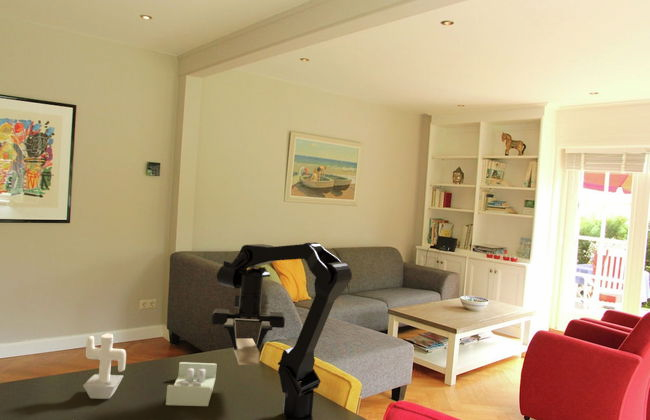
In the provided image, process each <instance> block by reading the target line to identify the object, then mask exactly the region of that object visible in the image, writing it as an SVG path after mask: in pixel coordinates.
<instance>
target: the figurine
mask: <svg viewBox="0 0 650 420" xmlns="http://www.w3.org/2000/svg"><path fill="white" fill-rule="evenodd" d="M113 344H114V334H113V333H112V332H109V333H108V332H106V333H104V334H102V335H101V336H100V347H96V346H95V336H94V335H90V336H89V335H88V336H87V338H86V345H85V357H86V358H87V359H89V360H99V365H98V367H99V368H98V373H97V374H96V373H94V374H93V375H92V376H91V377H90V378H88V380H86V382H85V383H84V384H83V388H84V390H85V392H86V393H87V395H88V396H89V398H90V399H98V400H99V399H100V400H109V399H110V398H111V397H112V396H113V395H114V393H116V390H117V389H118V387H119V385H120V383H121V381H122V380H123V378H124V375H123V374H122V375H119V374H111V368H112V367H111V366H112V361H117V371H118V372H119V373H120V372H124V371H125V370H126V363H127V352H126V350H125V349H124V348H113V346H114V345H113Z"/></svg>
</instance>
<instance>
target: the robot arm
mask: <svg viewBox="0 0 650 420" xmlns="http://www.w3.org/2000/svg"><path fill="white" fill-rule="evenodd" d="M289 260H290V261H292V260H304V261H305V262H306V265H307V267H308V270H309V271H310V272H311V273H312V274H313V276H314V277H315V279H314V283H313V285H314V294H315V295H314V297H313V300H312V302H311V305H310V307H309V310H308V312H307V316H306V317H305V319H304V322H303V325H302V327H301V330H300V332H299V335H298V338H297V340H296V342H295V344H294V346H292V347H288V348H287V349H284V350H283V351H282V353H281V357H280V360H279V362H278V363H277V366H278V369H277V370H278V371H277V373H278V375H279V380H280V386H281V390H282V393H284V398H283V405H282V406H283V407H282V408H283V409H282V411H283V415H284V416H285V418H284V419H285V420H314V418H313V408H314V398H315V397H314V396H315V392H314V390H315V389H318V388H319V386H320V384H321V379H320V377H319V376H318V373H317V372H316V371H315V369H314V368H315V367H314V366H315V361H316V360H315V353H314V352H315V349H316V347H317V345H318V342H319V339H320V337H321V334H322V332H323V331H324V330H323V329H324V328H325V325H326V323H327V320H328V318H329V315H330V312H331V311H332V308H333V306H334V303H335V301H336V300H337V299H338V298H339V297H340V295H342V293H344V291H345V290H346V288H347V286H348V285H349V283H350V282H351V280H352V277H353V273H352V271H351V268H350V266H349V265H348V264H347V263H346V262H343V261H341V260H340V259H339V258H338V257H337V256H336V255H334V254H332V253H331V252H330V251H328V250H327V249H325V247H324V246H323V245H322V244H320V242H319V243H318V242H315V241H314V242H304V243H302V244H301V243H299V244H287V245H279V246H274V245H271V244H265V243H264V244H263V243H258V244H244V245H242V246H241V248H240V250H239V252H238V254H237V256H235V258H234V260H223V265H221V266H220V268H219V269H218V271H217V273H216V280H217V282H218V284H219V285H221V286H225V287H229V288H233V289H240V290H239V295H236V294H235V295H234V304H233V305H234V308H237V309H238V310H237V311H238V312H237V313H233V312H230V309H226V308H215V310H213V312H212V314H211V323H210V324H211V325H221V326H222V328H224V329H227V332H228V334H229V337H230V340H231V344H232V346H233V347H232V348H234V350H236V344H237V342H236V338H237V322H246V323H247V322H249V323H260V328H259V332H258V336H257V342H256V346H257V348H258V350H260V347H261V345H262V343H263V341H264V339H265V337H266V335H267V333H268V332H269V331H273V328H275V329H276V328H279V329H280V328H281V329H283V328H285V323H286V322H285V321H286V319H285V314H284V312H283V311H282V312H280V311H279V312H278V311H269V314H268V315H267V314H265V315H264V314H261V309H262V297H263V295H262V294H263V285H264V283H263V282H264V278H270V276H271V273H270V272H269V271H268V270H267V268H266V267H265V265H268V264H272V263H274V262H277V261H289ZM260 266H261V267H260ZM262 266H264V267H262ZM257 267H259V268H257ZM234 350H233V351H234Z"/></svg>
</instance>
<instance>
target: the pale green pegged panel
mask: <svg viewBox="0 0 650 420" xmlns="http://www.w3.org/2000/svg"><path fill="white" fill-rule="evenodd" d="M216 375H217V363H210V362H209V363H207V362H189V361H180V362H179V363H178V376H177V378H176V379H175V382H174V384H168V385H167V386H166V397H165V405H166V406H187V407H189V406H191V407H193V406H194V407H209V403H210V401H211V396H212V393H213V390H214V386H215V382H216Z"/></svg>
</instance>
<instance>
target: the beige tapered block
mask: <svg viewBox="0 0 650 420" xmlns="http://www.w3.org/2000/svg"><path fill="white" fill-rule="evenodd" d="M236 342H237V344H236V350H234V347H232V348H233V352H234V355H235V358H236V361H237V364H238V366H245V365H246V366H248V365H249V366H250V365H252V366H253V365H254V366H255V365H259V364H260V351H259V350H260V349H259V350H258V348H257V343H256V342H255V340H254V338H237V337H236Z"/></svg>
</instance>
